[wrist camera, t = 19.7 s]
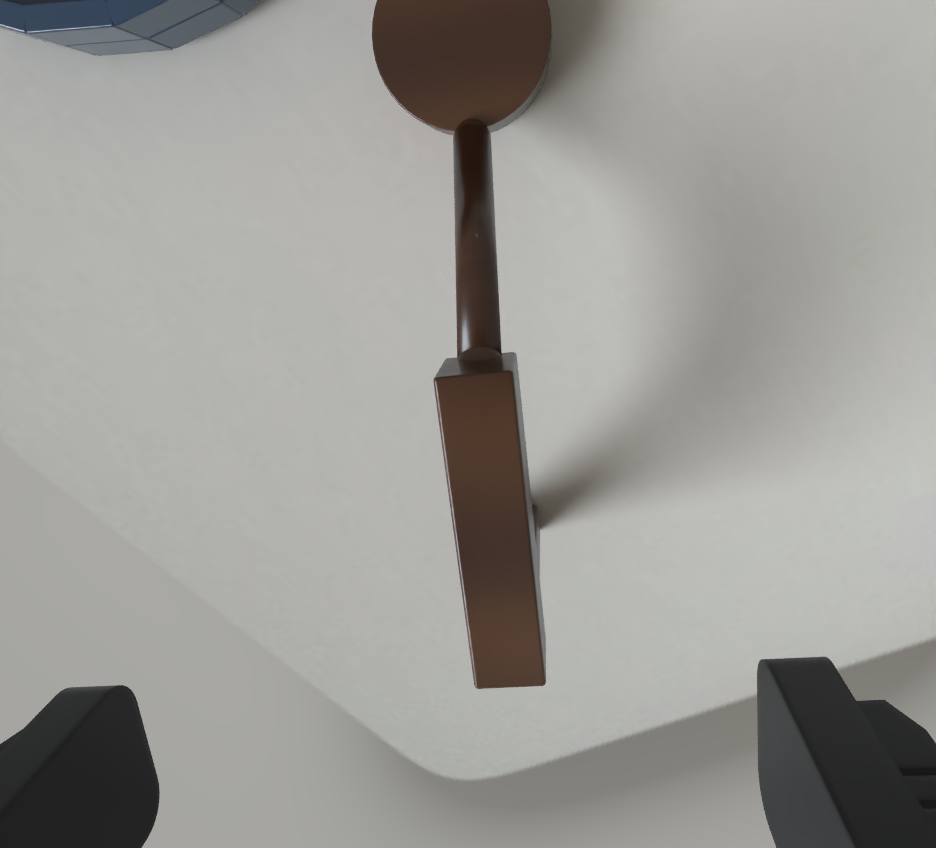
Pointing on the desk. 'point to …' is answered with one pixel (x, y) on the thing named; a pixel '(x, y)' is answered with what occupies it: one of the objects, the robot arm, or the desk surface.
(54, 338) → the desk surface
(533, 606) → the brown disc on stem
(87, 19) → the bowl
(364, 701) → the desk surface
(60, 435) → the desk surface
